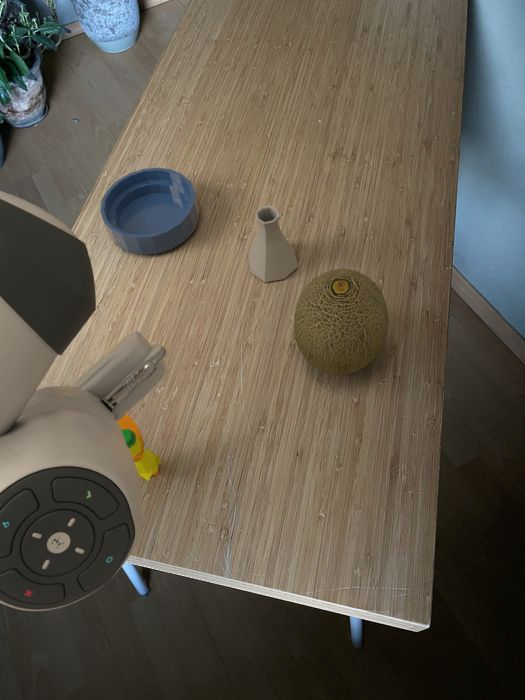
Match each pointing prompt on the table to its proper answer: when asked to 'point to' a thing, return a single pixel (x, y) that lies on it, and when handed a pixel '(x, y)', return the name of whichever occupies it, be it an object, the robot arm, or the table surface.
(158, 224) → the bowl
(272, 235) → the flask
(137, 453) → the toy figure
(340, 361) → the fruit
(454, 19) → the table surface
